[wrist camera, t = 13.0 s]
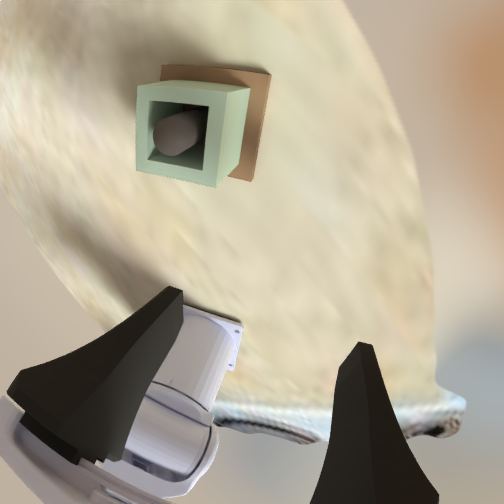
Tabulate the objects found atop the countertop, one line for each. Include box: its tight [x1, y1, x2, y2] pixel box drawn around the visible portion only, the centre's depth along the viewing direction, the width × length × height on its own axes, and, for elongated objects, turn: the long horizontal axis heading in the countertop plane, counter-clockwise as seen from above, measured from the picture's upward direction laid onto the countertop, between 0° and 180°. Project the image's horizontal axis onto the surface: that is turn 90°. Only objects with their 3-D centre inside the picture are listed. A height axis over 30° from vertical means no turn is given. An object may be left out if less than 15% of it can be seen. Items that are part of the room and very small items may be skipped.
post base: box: [153, 65, 271, 182], centre depth 15 cm, size 7×7×5 cm
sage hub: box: [136, 80, 250, 188], centre depth 15 cm, size 5×5×4 cm
